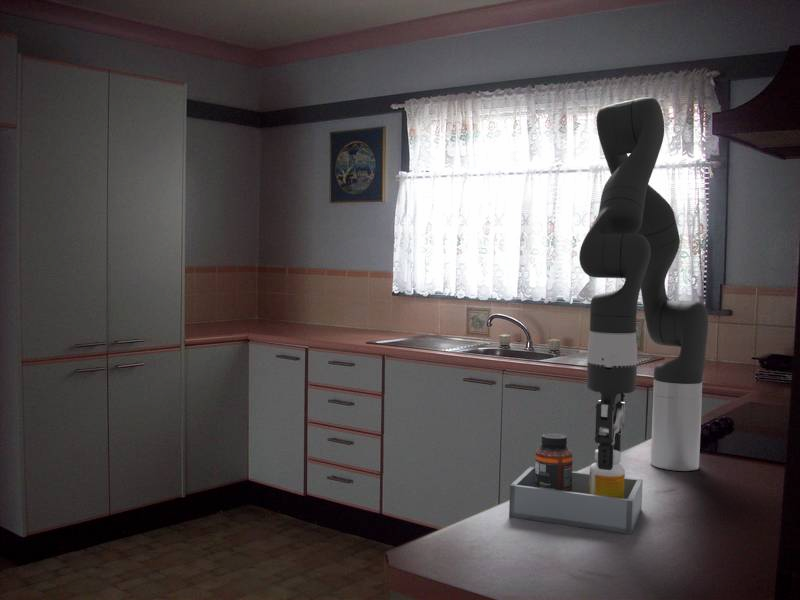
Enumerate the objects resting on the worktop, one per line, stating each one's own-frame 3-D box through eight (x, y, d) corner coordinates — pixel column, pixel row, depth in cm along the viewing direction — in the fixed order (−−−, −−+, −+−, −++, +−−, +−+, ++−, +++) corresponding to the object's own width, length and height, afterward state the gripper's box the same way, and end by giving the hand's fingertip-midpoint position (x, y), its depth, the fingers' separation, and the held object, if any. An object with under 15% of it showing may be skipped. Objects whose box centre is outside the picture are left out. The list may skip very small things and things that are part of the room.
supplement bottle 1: (572, 501, 135) (575, 433, 135) (569, 511, 129) (572, 440, 129) (536, 497, 137) (538, 430, 136) (531, 507, 131) (534, 437, 131)
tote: (529, 495, 141) (530, 466, 141) (641, 509, 134) (642, 479, 134) (509, 516, 129) (510, 485, 128) (631, 534, 122) (632, 501, 121)
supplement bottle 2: (630, 515, 128) (632, 454, 128) (601, 518, 126) (603, 456, 126) (609, 505, 133) (611, 446, 133) (581, 508, 131) (583, 448, 131)
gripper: (594, 354, 136) (592, 450, 137) (579, 364, 123) (577, 470, 124) (641, 357, 134) (638, 455, 135) (631, 367, 120) (628, 476, 121)
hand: (609, 462), depth 129 cm, fingers open, 8 cm apart
